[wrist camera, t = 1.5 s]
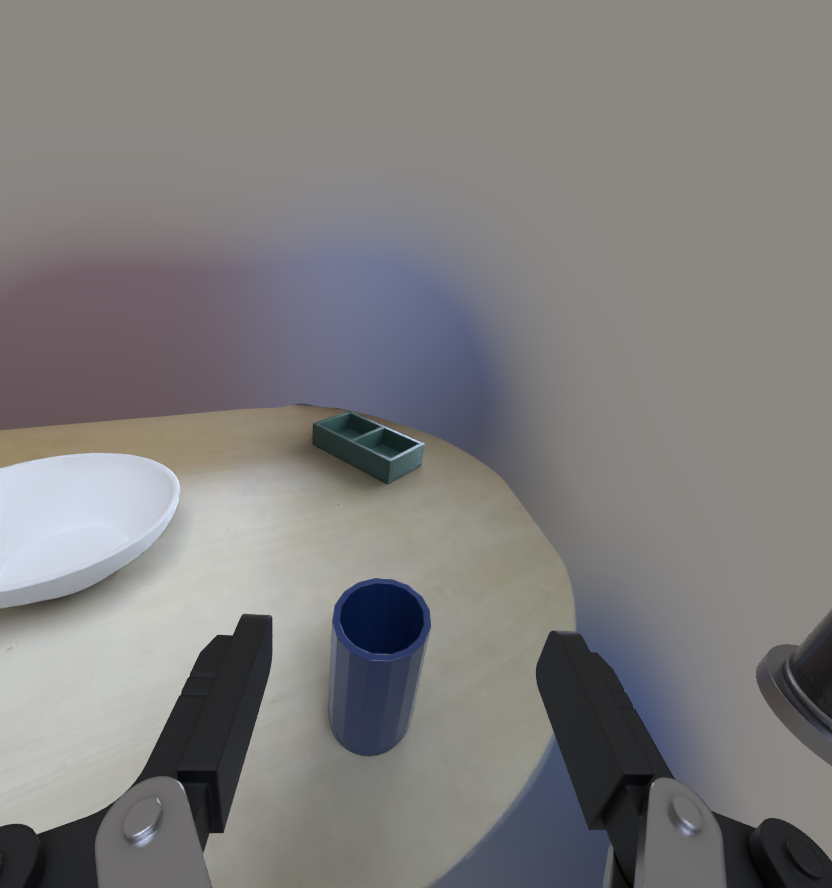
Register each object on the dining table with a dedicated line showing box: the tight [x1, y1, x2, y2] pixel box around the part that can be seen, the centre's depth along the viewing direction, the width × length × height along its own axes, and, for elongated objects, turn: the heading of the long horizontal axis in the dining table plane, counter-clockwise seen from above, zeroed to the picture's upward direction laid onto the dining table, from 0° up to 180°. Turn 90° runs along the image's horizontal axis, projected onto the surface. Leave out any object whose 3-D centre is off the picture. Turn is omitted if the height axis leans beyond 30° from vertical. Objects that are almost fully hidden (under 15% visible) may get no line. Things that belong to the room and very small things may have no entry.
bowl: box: [0, 453, 180, 608], centre depth 35 cm, size 20×20×7 cm
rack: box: [313, 411, 425, 484], centre depth 63 cm, size 8×16×4 cm, turn 54°
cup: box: [328, 578, 431, 756], centre depth 27 cm, size 6×6×10 cm
